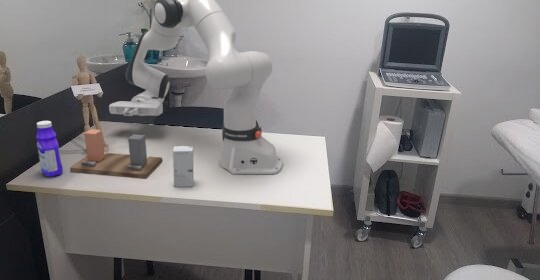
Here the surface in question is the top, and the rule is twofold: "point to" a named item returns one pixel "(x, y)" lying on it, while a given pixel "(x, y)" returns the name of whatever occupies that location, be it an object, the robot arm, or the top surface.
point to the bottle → (48, 149)
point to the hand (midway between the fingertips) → (127, 114)
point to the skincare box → (183, 166)
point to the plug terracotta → (94, 145)
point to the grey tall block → (137, 150)
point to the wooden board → (117, 166)
